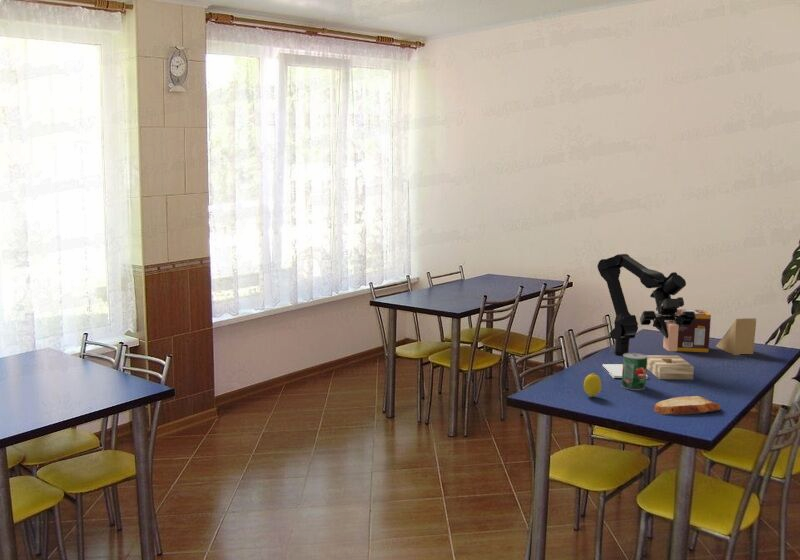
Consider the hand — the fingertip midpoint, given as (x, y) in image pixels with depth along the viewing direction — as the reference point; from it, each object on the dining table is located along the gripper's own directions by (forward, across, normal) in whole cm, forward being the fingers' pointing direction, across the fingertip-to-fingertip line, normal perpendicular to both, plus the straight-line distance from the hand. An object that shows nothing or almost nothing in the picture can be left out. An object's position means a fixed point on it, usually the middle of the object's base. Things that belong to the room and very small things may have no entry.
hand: (672, 337), depth 280 cm
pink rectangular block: (+2, 0, +4) cm, 5 cm away
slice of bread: (+39, -8, -19) cm, 44 cm away
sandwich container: (-16, +39, +36) cm, 56 cm away
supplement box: (-18, +20, +38) cm, 46 cm away
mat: (+9, -16, +10) cm, 21 cm away
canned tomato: (+21, -18, -2) cm, 28 cm away
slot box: (+9, 0, +10) cm, 14 cm away
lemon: (+30, -35, -11) cm, 47 cm away
